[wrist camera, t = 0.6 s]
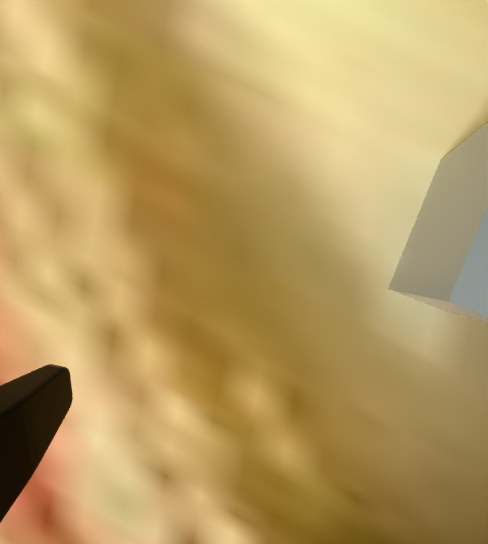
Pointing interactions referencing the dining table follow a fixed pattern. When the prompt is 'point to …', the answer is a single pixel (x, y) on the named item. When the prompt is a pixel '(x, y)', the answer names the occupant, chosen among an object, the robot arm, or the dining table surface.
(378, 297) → the dining table surface
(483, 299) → the tall grey-blue box
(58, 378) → the robot arm
